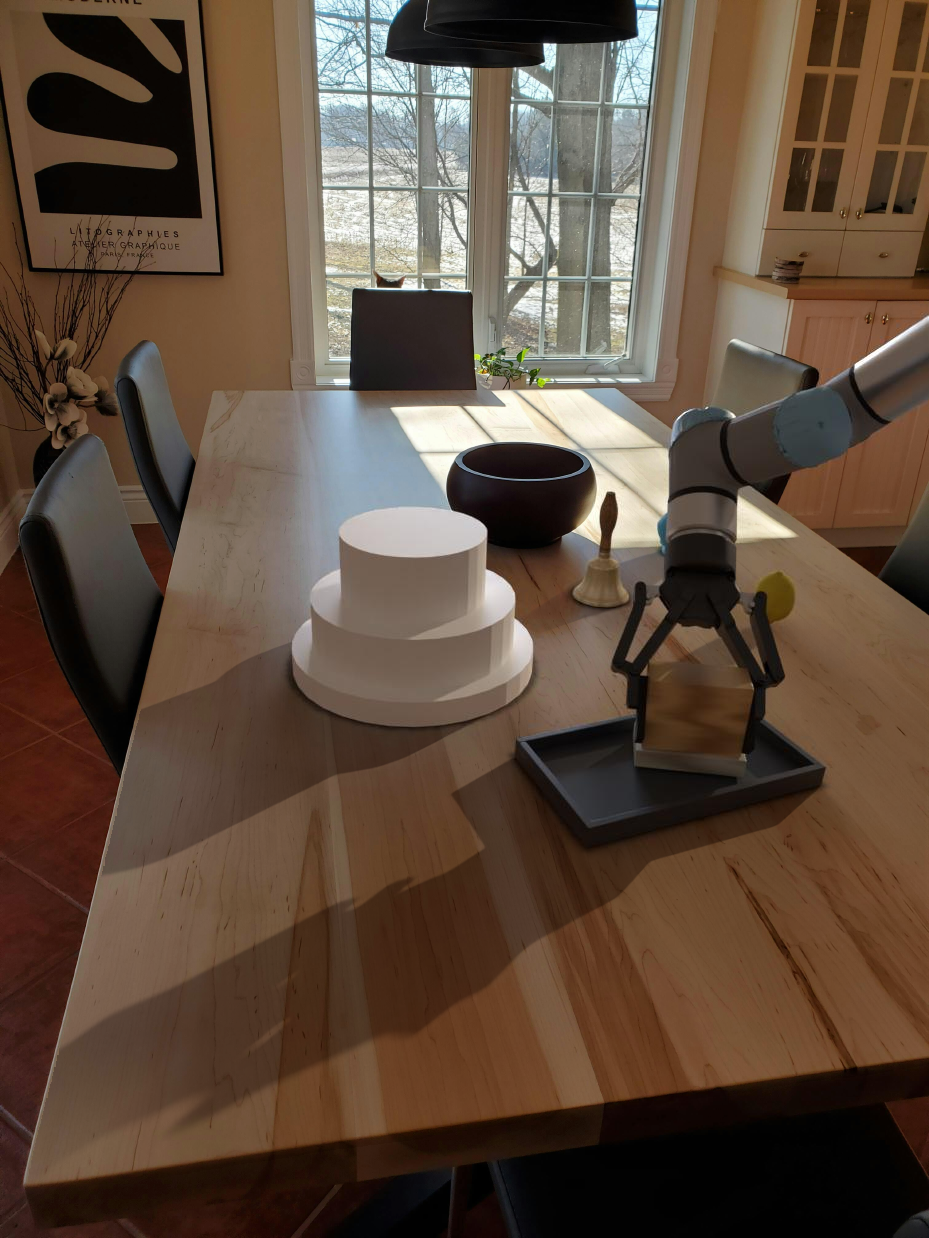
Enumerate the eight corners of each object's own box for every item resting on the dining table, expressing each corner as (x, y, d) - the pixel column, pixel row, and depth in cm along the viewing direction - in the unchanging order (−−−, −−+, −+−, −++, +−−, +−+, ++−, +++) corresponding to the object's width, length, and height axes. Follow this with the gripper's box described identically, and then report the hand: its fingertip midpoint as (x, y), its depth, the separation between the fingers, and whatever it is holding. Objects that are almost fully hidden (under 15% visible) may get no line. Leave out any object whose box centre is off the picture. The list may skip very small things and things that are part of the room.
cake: (548, 724, 101) (560, 580, 93) (279, 729, 99) (268, 581, 91) (516, 610, 128) (523, 491, 120) (304, 612, 126) (297, 490, 118)
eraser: (736, 747, 96) (752, 665, 92) (743, 777, 91) (760, 692, 87) (632, 737, 98) (643, 656, 93) (634, 766, 93) (645, 682, 88)
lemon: (778, 613, 130) (788, 562, 126) (797, 631, 125) (808, 578, 121) (742, 615, 129) (751, 564, 125) (760, 633, 124) (770, 580, 120)
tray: (821, 785, 92) (826, 766, 91) (586, 848, 83) (588, 828, 82) (727, 709, 105) (730, 692, 104) (514, 756, 96) (515, 738, 95)
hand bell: (563, 588, 136) (572, 486, 129) (613, 582, 138) (624, 482, 131) (587, 610, 129) (597, 504, 122) (638, 604, 131) (651, 500, 124)
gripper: (798, 565, 100) (799, 764, 93) (593, 550, 102) (578, 742, 95) (818, 537, 93) (820, 750, 86) (597, 521, 95) (581, 726, 88)
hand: (693, 746), depth 90 cm, fingers closed on eraser, 10 cm apart
